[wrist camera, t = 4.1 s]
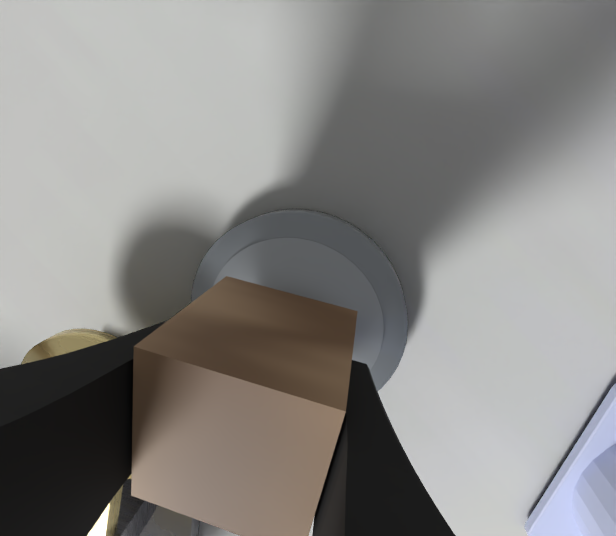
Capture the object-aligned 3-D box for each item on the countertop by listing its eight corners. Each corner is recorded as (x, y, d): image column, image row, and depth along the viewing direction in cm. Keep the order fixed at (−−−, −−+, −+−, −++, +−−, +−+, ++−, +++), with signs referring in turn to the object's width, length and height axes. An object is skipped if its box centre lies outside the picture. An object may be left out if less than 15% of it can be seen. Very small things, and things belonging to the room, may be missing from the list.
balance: (96, 280, 14) (-98, 361, 8) (224, 316, 13) (110, 432, 8) (104, 570, 21) (2, 724, 15) (189, 604, 20) (115, 779, 15)
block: (357, 311, 9) (345, 411, 6) (327, 418, 11) (301, 558, 7) (226, 276, 10) (133, 346, 6) (213, 383, 11) (131, 495, 7)
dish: (435, 238, 11) (441, 246, 10) (373, 421, 14) (373, 443, 12) (213, 187, 12) (197, 189, 11) (196, 367, 15) (182, 383, 13)
